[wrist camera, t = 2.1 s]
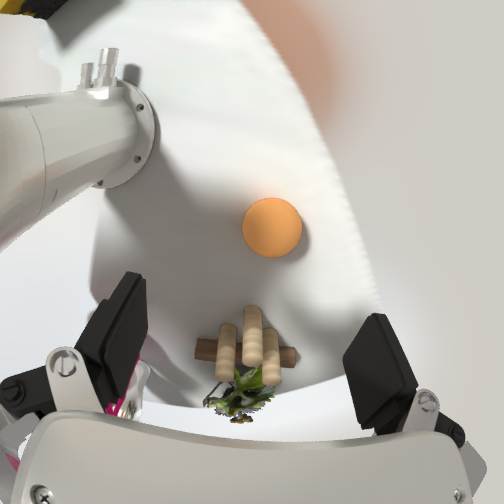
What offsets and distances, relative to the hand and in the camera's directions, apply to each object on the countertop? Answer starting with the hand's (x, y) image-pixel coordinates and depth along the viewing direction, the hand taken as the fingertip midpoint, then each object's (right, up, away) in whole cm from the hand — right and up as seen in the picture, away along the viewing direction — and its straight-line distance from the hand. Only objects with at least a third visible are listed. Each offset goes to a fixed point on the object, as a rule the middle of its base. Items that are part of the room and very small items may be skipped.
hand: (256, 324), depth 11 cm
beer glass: (-22, -18, +34) cm, 44 cm away
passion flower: (-2, -18, +33) cm, 38 cm away
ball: (+2, +5, +17) cm, 17 cm away
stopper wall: (-1, -12, +30) cm, 32 cm away
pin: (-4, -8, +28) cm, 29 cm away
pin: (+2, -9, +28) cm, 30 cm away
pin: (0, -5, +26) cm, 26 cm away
